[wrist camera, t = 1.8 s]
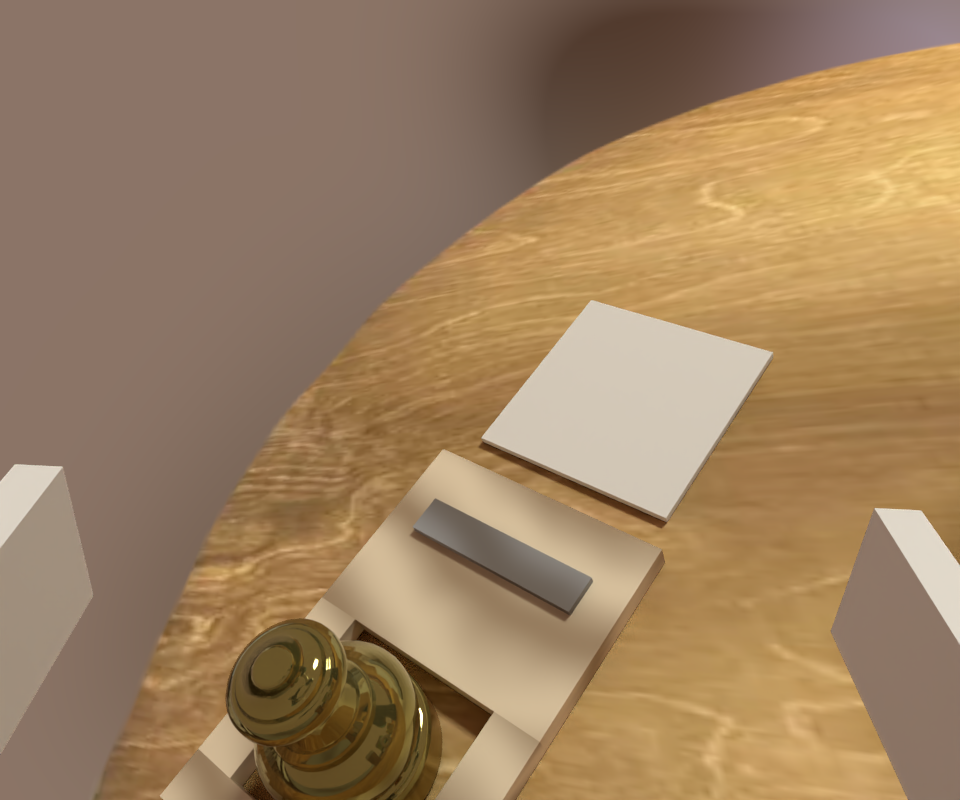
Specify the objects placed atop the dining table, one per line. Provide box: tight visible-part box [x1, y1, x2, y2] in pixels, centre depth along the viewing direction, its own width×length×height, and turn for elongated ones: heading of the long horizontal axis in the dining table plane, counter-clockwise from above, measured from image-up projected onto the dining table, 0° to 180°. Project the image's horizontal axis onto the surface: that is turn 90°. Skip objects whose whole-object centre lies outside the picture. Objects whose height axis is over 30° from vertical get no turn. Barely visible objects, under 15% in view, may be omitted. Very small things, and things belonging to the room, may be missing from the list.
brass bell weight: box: [226, 618, 442, 800], centre depth 36 cm, size 7×7×10 cm
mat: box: [481, 300, 773, 522], centre depth 48 cm, size 12×12×1 cm
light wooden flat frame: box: [160, 449, 665, 800], centre depth 40 cm, size 22×14×2 cm, turn 143°
